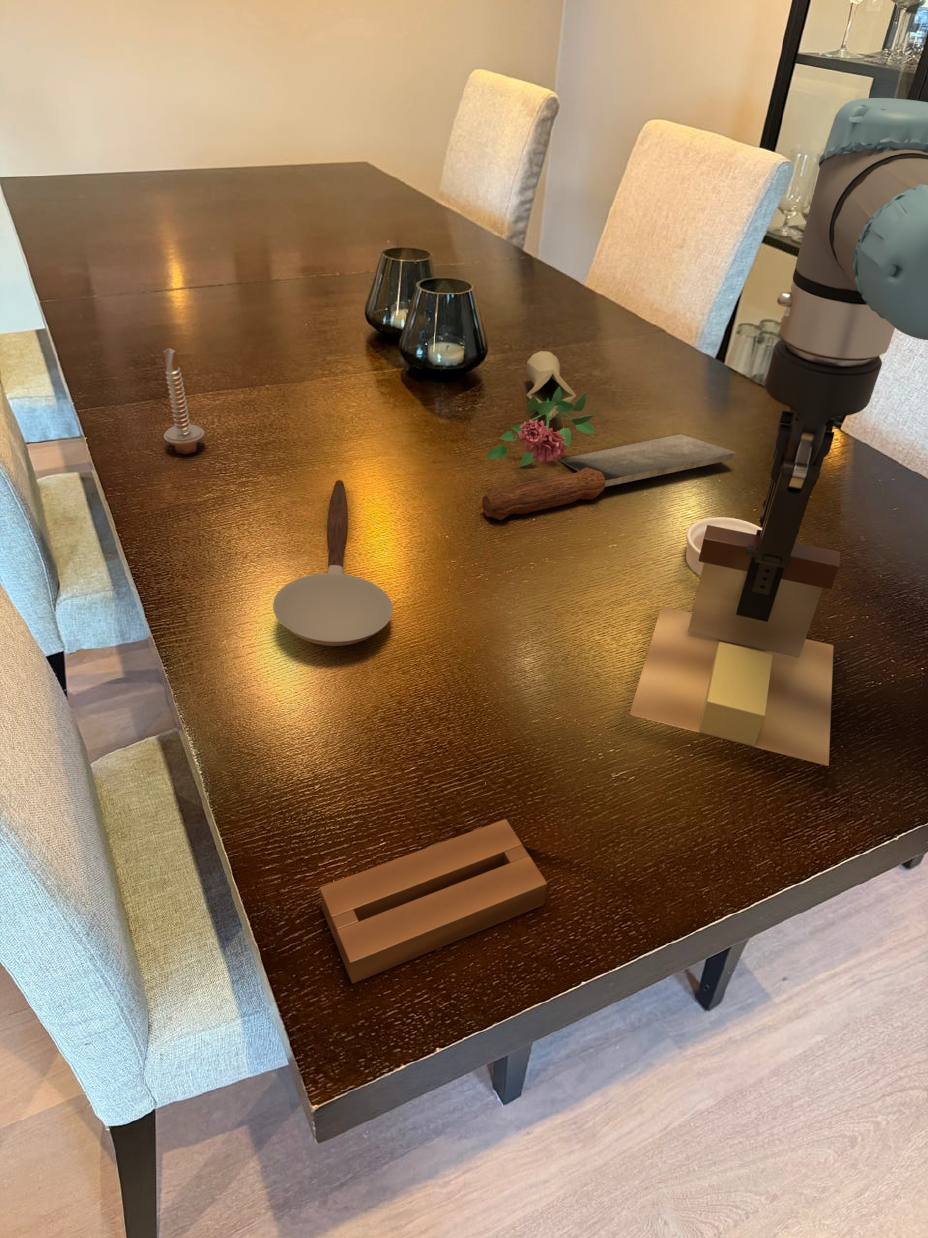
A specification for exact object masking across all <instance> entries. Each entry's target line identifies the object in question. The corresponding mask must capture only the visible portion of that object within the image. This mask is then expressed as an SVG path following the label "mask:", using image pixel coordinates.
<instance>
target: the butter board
mask: <svg viewBox="0 0 928 1238" xmlns="http://www.w3.org/2000/svg"><path fill="white" fill-rule="evenodd" d="M691 615H692V612H689V611H685V610H680V609H676V608H671V607H667V606H661V607H660V610H659V612H658V616H657V620H656V623H655V626H654V629H653V633H652V636H651V640H650V643H649V646H648V650H647V654H646V656H645V661H644V663H643V667H642V671H641V674H640V677H639V680H638V684H637V688H636V691H635V694H634V697H633V700H632V704H631V707H630V710H629V715H630V716H633V717H637V718H641V719H644V720H649V721H653V722H657V723H661V724H665V725H668V726H673V727H675V728H680V729H683V730H687V731H691V732H694V733H699V734H703V735H706V736H710V737H715V738H718V739H722V740H725V741H730V742H734V743H737V744H742V745H746V746H748V747H753V748H756V749H761V750H765V751H768V752H771V753H775V754H780V755H784V756H787V757H791V758H795V759H799V760H803V761H807V762H810V763H815V764H819V765H822V766H826V767H829V765H830V747H831V745H830V743H831V721H832V719H831V718H832V694H833V671H834V670H833V669H834V668H833V667H834V645H833V644H830V643H826V642H820V641H817V640H812V639H808V638H806V639H805V642H804V645H803V648H802V651H801V654H800V657H799V658H797V657H793V656H789V655H784V654H780V653H776V652H772V651H766V650H761V649H757V648H753V647H749V646H744V645H740V644H736V643H731V642H727V641H723V640H719V639H716V638H711V637H707V636H703V635H698V634H694V633H690V632H688V627H689V623H690V619H691ZM719 642H723V643H727V644H732V645H736V646H740V647H745V648H749V649H753V650H757V651H762V652H766V653H770V654H772V664H771V672H770V680H769V688H768V696H767V704H766V712H765V717H764V720H763V723H762V726H761V729H760V732H759V735H758V738H757V741H756V744H755V746H752V745H748V744H744V743H740V742H736V741H732V740H729V739H725V738H721V737H717V736H713V735H709V734H705V733H702V732H699V728H700V723H701V718H702V713H703V708H704V703H705V699H706V694H707V689H708V684H709V679H710V674H711V670H712V666H713V662H714V659H715V655H716V651H717V648H718V644H719Z"/></svg>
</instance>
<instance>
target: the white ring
mask: <svg viewBox="0 0 928 1238" xmlns="http://www.w3.org/2000/svg"><path fill="white" fill-rule="evenodd" d="M707 525H711V526H716V527H721V528H726V529H730V530H735V531H740V532H745V533H750V534H755V535H756V533H757V529H758V530H762V527H760V526H758V525H756V524H754V523H751V522H749V521H745V520H743V519H739V518H733V517H724V516H723V517H722V516H718V517H708V518H704V519H700V520H698V521H696V522H693V524H691V525H690V527H689V528H688V530H687V531H686V551H685V552H686V553H685V554H686V555H685V558H686V559H685V560H686V563H687V565H688V567H689V568H690V569H691V570H692V571H693V572H694V573H695V574H697V575H698V576H700V577H701V574H702V569H703V565H704V562H699V556H700V552H701V549H700V548H702V543H703V539H704V535H705V531H706V527H707Z"/></svg>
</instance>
